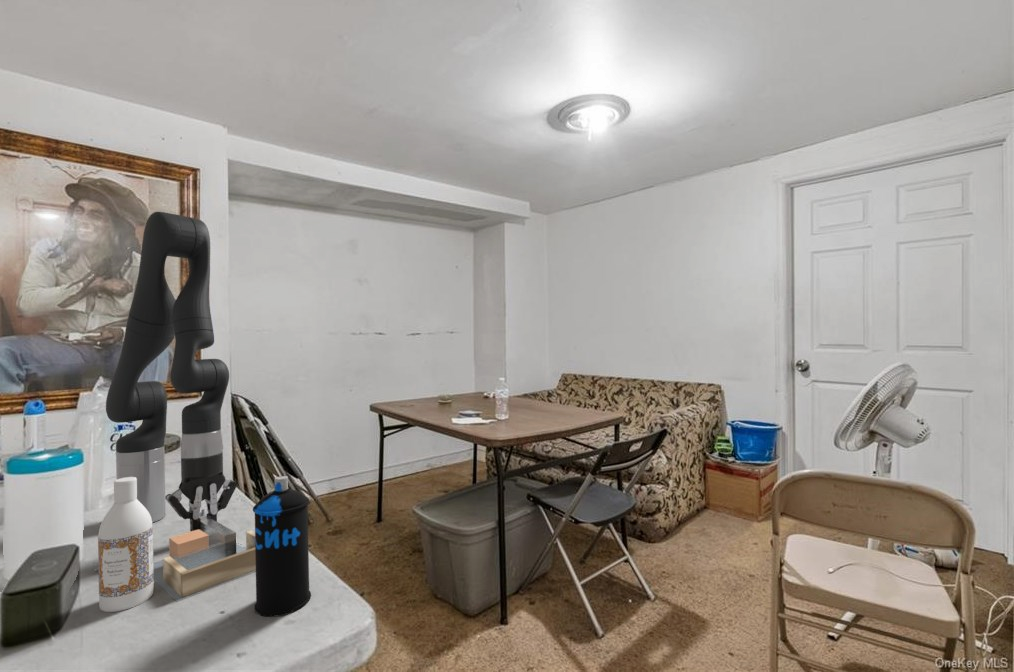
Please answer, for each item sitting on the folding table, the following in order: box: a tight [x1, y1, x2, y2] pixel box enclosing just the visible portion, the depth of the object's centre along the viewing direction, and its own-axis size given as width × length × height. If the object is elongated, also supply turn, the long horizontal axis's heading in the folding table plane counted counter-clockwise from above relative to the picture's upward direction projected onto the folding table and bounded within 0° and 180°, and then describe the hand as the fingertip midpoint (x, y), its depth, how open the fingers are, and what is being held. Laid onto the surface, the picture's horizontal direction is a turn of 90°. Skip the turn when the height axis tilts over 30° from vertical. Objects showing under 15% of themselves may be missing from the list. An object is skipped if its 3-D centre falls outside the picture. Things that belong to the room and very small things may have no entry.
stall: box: [162, 530, 256, 598], centre depth 86 cm, size 10×15×4 cm, turn 141°
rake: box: [174, 515, 237, 570], centre depth 94 cm, size 16×10×4 cm, turn 51°
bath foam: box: [97, 477, 155, 613], centre depth 77 cm, size 7×7×20 cm
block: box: [168, 529, 209, 559], centre depth 90 cm, size 5×5×5 cm
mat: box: [153, 543, 256, 603], centre depth 89 cm, size 20×17×1 cm
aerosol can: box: [252, 475, 312, 617], centre depth 76 cm, size 8×8×20 cm
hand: (203, 533), depth 101 cm, fingers closed on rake, 2 cm apart
